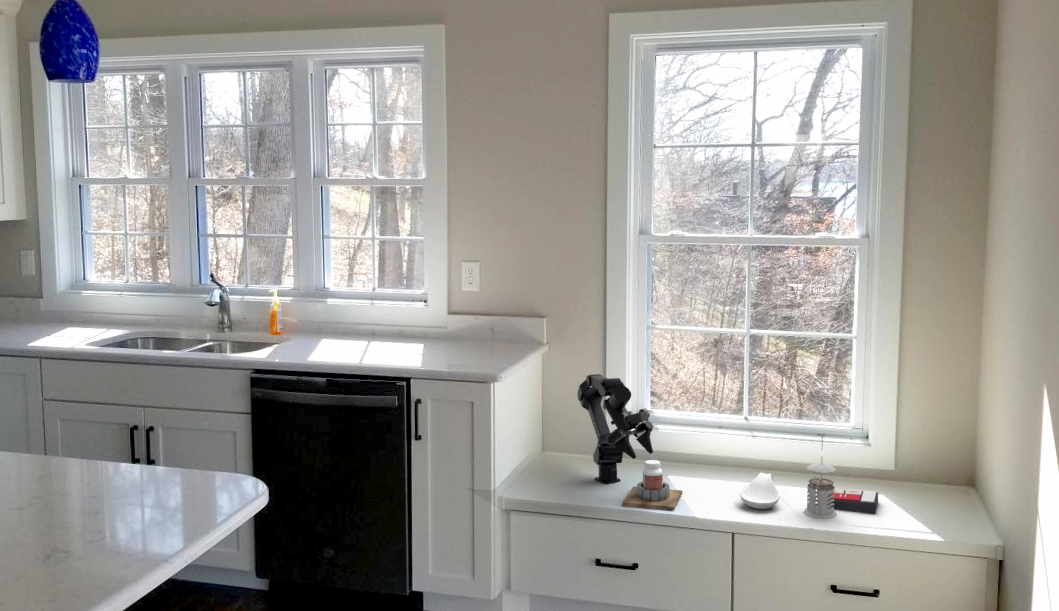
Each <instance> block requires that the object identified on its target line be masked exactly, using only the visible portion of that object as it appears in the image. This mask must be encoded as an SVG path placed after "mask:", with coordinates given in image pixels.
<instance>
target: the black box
mask: <svg viewBox="0 0 1059 611" xmlns="http://www.w3.org/2000/svg"><path fill="white" fill-rule="evenodd" d="M831 494H832V495H834V498H833V497H832V499H834V502H833V501H832V503H834V506H833V505H832V506H831V507H834V510H838V511H849V512H859V513H863V514H869V515H870V514H871V515H876V514H877V509H878V507H879V492H877V491H872V490H862V489H852V488H851V489H850V488H846V489H845V488H835V487H834V493H831Z"/></svg>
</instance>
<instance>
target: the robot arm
mask: <svg viewBox="0 0 1059 611" xmlns="http://www.w3.org/2000/svg"><path fill="white" fill-rule="evenodd" d="M576 394H577V400H578V402H579V403H580V405H581V407H582V408H583V409H585V410H587V411H588V415H589V417H590V420H591V423H592V426H593V428H594V432H595V435H596V438H597V444H596V447H595V451H594V452H593V455H592V456H593V457H592V458H593V462H594V463H595V464H596V465H597V466H598V476H596V477H594V480H596V481H598V482H600V483H602V484H605V485H606V484H611V483H616V482H621V480H622V479H620V478H619V477H618V464H622V463H623V457H624V456H623V455H624V454H626V455H628V456H629V457H630V458H632V459H633V460H634V459H636V458H637V455H636V453H635V450H634V449H633V446H632V445H631V442H630V436H634V437H635V440H636V441H637V442H638V443H639V444H640V445H641V447H642V448H643V449H645V451H647V453H649V454H650V455H651V454H653V453H654V448H653V445H652V442H651V440H652V439H651V434H652V431H653V429H654V428H655V426H654V425H653V422H651V421H649V418H650V415H651V413H650V412H649V411H648V409H647V408H645V407H644V408H640V409H639V410H638V412H635V413H633V411H631V410H629V411H628V409H627V408H626V406H627V405H628V403H629V401H630V400H631V398H632V391H631V390H630V389H629V388H628V387H627V386H626V385H625V384H624V382H623V381H622V379H621V378H620V377H613V378H612V377H611V378H607V377H605V376H604V375H602V374H600V373H599V374H598V373H596V374H588V375H586V378H585V379H584V381H583V382H581V383H580V385H579V386H578V390H577V393H576ZM604 397H607V398H606V399H604V400H603V398H604ZM602 403H603V405H602ZM603 409H604V410H606V412H607V413H608V415H609V417H610V418H611V421H610V424H611V425H612V426H613V425H615V427H616V429H613V431H611V430H610V426H609V425H608V422H607V419H606V416H605V414H604V410H603Z"/></svg>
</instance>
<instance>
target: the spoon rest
mask: <svg viewBox="0 0 1059 611" xmlns="http://www.w3.org/2000/svg"><path fill="white" fill-rule="evenodd" d="M739 496H740V499H741V500H742V502H743V503H744V504H745V505H746V506H748V507H749V508H751V509H755V510H767V509H770V508H772V507H774V506H775V505H777V503H778V502H779V500H780V492H779V491H778V489H777V486H776V485H775V482H774V478H773V475H772V473H763V472H759V473H758V475H757V476H756V477H755V478H754V479H753V480H752V481H751V482H750V483H749V484H747V485H746V486H745V487H744V488H743V489H742V490H741V492H740V493H739Z"/></svg>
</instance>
